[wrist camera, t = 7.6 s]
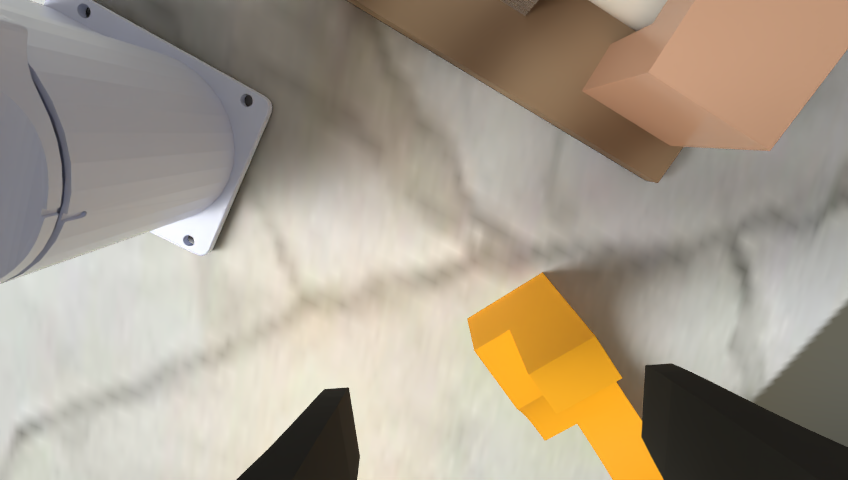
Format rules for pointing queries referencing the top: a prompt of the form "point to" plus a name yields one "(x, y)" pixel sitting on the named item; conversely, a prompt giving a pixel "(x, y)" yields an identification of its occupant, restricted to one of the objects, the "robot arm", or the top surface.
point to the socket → (722, 69)
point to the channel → (521, 5)
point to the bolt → (632, 11)
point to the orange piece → (560, 375)
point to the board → (534, 64)
